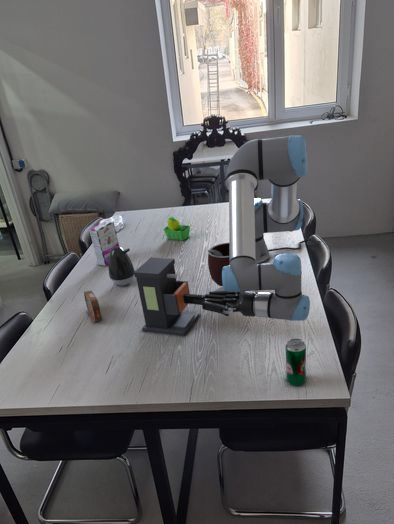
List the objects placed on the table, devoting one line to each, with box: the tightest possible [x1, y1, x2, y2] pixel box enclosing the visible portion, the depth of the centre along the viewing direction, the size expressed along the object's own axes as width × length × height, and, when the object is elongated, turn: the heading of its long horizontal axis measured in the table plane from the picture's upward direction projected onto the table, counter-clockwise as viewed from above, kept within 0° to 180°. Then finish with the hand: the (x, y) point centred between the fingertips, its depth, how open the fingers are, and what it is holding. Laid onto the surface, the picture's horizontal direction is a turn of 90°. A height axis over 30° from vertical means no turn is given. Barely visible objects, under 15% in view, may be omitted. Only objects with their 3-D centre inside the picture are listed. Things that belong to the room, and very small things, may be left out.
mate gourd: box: [207, 242, 245, 294], centre depth 168 cm, size 16×14×20 cm
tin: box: [83, 290, 102, 323], centre depth 171 cm, size 15×3×8 cm, turn 23°
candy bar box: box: [88, 221, 120, 267], centre depth 211 cm, size 11×5×16 cm, turn 148°
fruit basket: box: [162, 216, 191, 242], centre depth 227 cm, size 11×9×11 cm
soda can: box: [285, 337, 307, 387], centre depth 124 cm, size 5×5×12 cm
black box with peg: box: [134, 257, 200, 336], centre depth 156 cm, size 15×13×21 cm
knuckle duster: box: [97, 215, 127, 233], centre depth 254 cm, size 3×18×15 cm
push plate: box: [174, 283, 190, 314], centre depth 154 cm, size 1×8×7 cm, turn 157°
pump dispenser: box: [107, 246, 136, 287], centre depth 190 cm, size 10×10×15 cm
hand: (184, 298), depth 154 cm, fingers closed
